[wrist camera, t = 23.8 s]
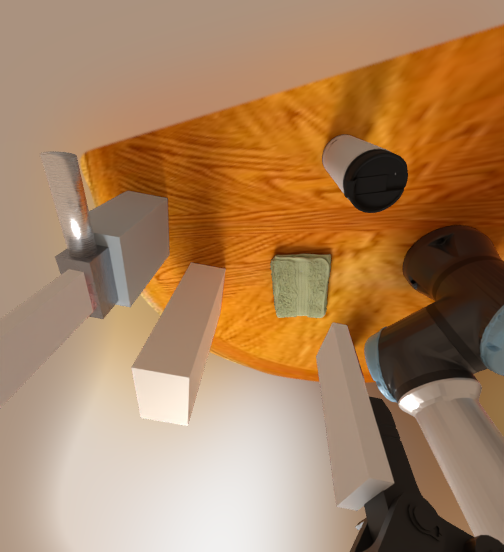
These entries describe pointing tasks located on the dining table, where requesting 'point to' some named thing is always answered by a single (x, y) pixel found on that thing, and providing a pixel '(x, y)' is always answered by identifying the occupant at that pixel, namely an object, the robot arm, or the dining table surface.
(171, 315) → the tall stand
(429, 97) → the dining table surface
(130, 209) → the low stand
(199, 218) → the dining table surface
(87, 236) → the grey piece
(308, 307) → the washcloth
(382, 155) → the travel mug
